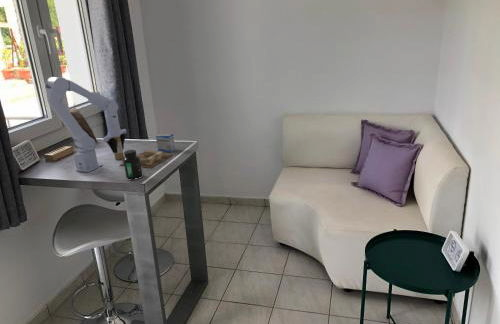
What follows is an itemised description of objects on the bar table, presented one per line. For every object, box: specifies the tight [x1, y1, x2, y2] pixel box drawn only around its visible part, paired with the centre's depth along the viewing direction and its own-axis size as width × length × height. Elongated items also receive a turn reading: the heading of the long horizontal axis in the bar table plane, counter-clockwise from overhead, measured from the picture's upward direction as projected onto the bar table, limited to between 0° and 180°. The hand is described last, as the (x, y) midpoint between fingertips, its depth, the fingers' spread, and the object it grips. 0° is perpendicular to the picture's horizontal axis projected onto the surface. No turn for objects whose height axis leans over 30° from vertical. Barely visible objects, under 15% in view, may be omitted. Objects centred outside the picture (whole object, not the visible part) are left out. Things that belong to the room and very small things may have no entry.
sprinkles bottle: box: [113, 135, 125, 161], centre depth 196 cm, size 5×5×13 cm
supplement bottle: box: [122, 149, 144, 180], centre depth 170 cm, size 7×7×12 cm
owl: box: [68, 108, 98, 148], centre depth 225 cm, size 13×13×20 cm
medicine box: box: [155, 133, 176, 153], centre depth 203 cm, size 8×4×9 cm, turn 76°
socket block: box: [119, 150, 173, 169], centre depth 192 cm, size 18×18×3 cm
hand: (118, 151), depth 196 cm, fingers closed on sprinkles bottle, 4 cm apart
